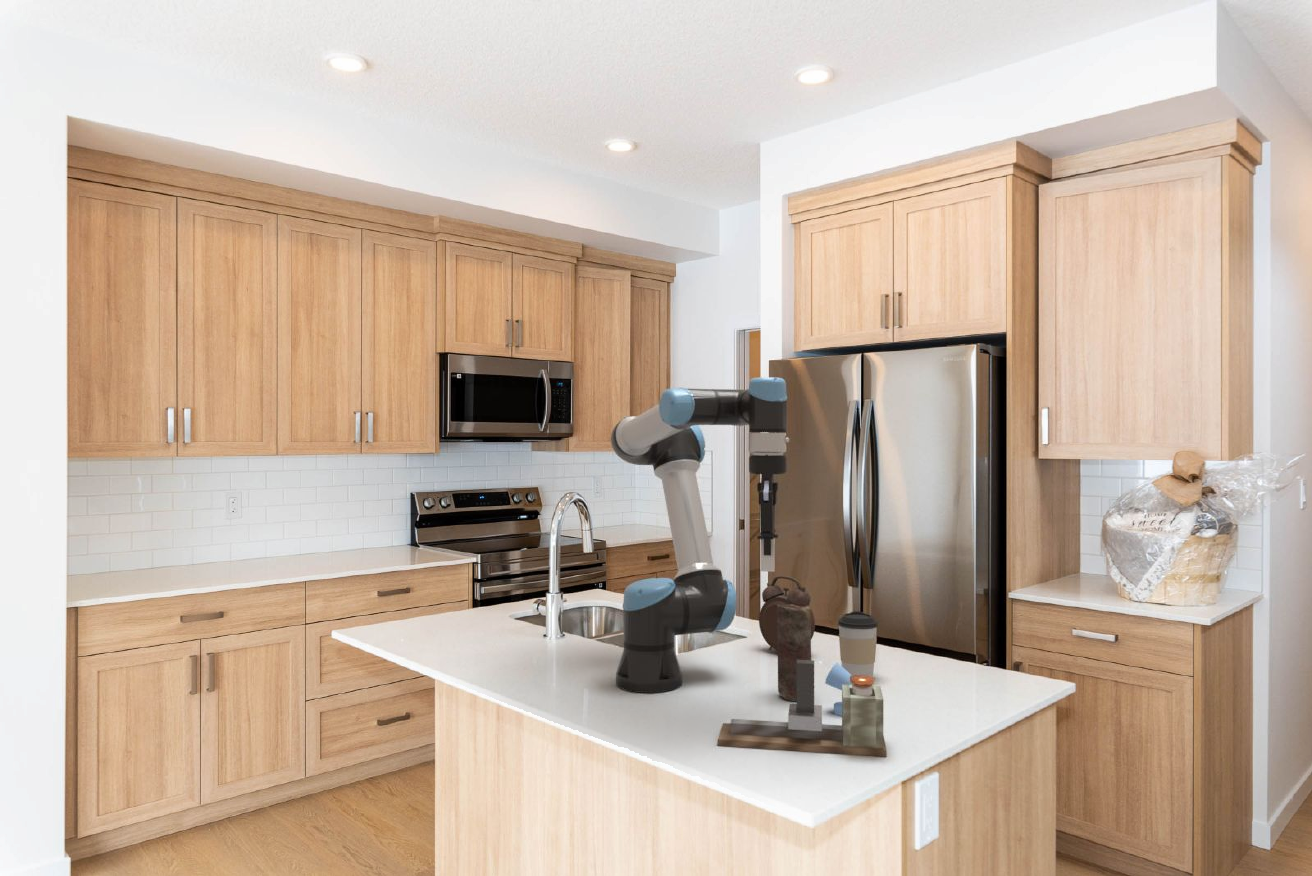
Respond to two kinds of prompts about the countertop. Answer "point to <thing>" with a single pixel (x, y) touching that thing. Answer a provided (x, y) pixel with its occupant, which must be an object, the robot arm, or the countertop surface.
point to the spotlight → (838, 683)
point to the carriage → (805, 700)
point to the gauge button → (862, 684)
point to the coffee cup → (858, 642)
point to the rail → (792, 744)
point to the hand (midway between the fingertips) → (767, 570)
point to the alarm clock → (769, 610)
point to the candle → (792, 645)
